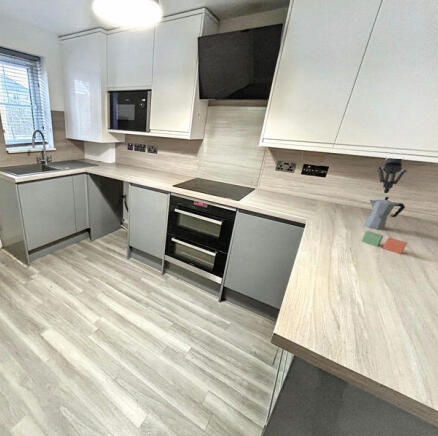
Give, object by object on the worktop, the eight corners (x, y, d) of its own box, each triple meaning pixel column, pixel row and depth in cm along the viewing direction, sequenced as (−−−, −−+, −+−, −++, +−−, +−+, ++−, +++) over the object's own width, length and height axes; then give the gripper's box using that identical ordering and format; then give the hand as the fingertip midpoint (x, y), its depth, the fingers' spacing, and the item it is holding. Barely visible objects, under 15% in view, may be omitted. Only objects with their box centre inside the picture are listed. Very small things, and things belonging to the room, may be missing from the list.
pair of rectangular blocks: (402, 252, 106) (407, 242, 104) (400, 254, 105) (405, 244, 103) (363, 239, 117) (367, 230, 115) (361, 241, 115) (365, 231, 113)
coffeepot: (362, 226, 135) (375, 196, 128) (357, 221, 143) (369, 193, 136) (397, 233, 129) (413, 201, 122) (389, 227, 137) (404, 197, 130)
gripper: (405, 166, 145) (398, 197, 138) (377, 163, 152) (369, 192, 145) (411, 158, 139) (404, 190, 132) (382, 155, 146) (374, 185, 139)
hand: (386, 191), depth 139 cm, fingers closed
